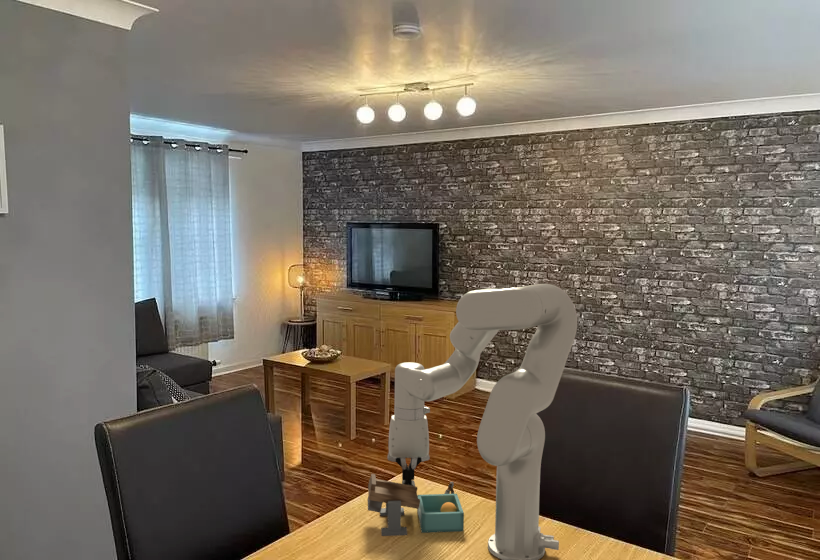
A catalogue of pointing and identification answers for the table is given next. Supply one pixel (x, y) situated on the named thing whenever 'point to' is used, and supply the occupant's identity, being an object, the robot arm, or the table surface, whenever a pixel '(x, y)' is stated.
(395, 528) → the lever stand
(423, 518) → the teal open box
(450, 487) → the wooden post with brackets
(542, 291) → the robot arm
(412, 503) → the lever
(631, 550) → the table surface
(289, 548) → the table surface
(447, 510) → the ball
